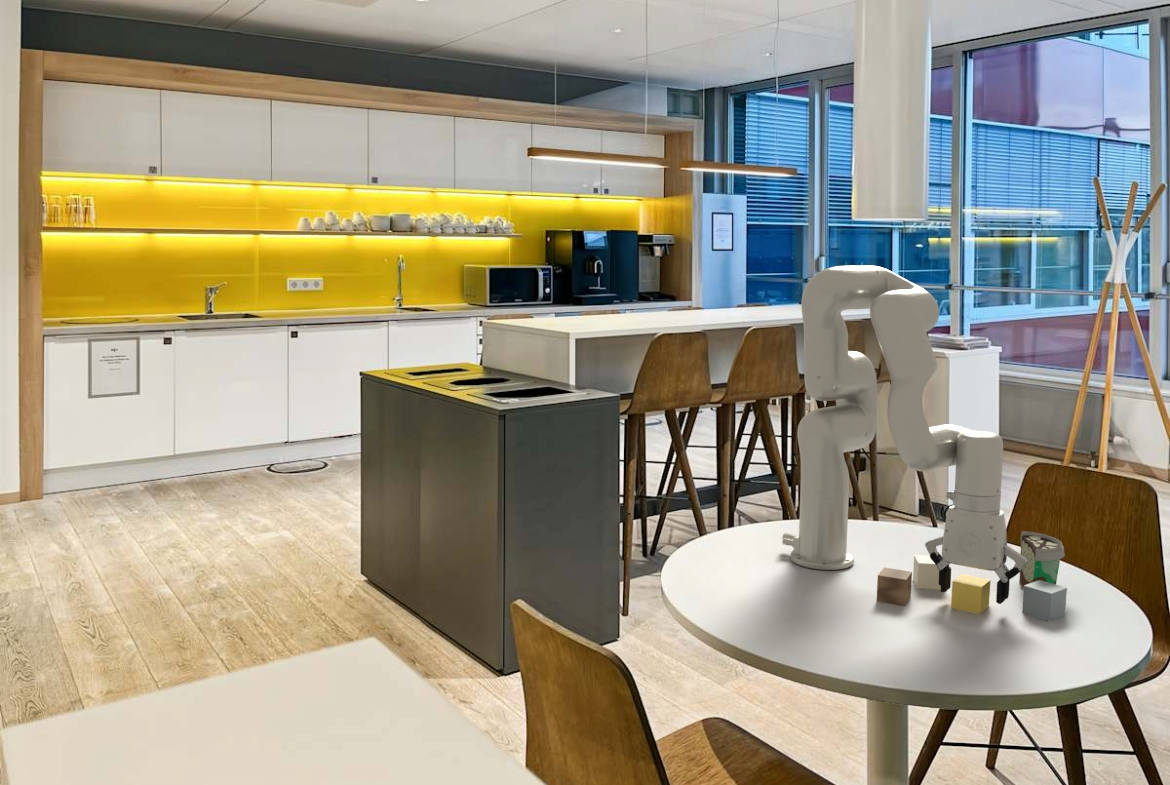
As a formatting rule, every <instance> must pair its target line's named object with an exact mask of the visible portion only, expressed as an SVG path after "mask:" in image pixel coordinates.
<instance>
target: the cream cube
mask: <svg viewBox="0 0 1170 785" xmlns="http://www.w3.org/2000/svg"><path fill="white" fill-rule="evenodd" d="M913 556H914V557H913V568H912V569H913V571H912V581H913V583H914V584H915V587H916V588H917V589H921V590H923V589H924V590H939V591H941V586H940V585H939V570H938V569H937V565H936V564H935V563H934V562H933V561H932V559H931V558H930V555H923V554H922V555H921V554H914V555H913Z"/></svg>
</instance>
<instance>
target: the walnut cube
mask: <svg viewBox="0 0 1170 785" xmlns="http://www.w3.org/2000/svg"><path fill="white" fill-rule="evenodd" d="M912 581H913V571H909V570H902V569H896V568H890V567H883V568H882V569H881V571H880V572H879V573H878V574H877V585H876V602H879V603H883V604H884V603H885V604H890V605H895V606H902V607H906V605H907V604H908V603H909V601H910V599H911V597H912Z"/></svg>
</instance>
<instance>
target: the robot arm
mask: <svg viewBox="0 0 1170 785" xmlns="http://www.w3.org/2000/svg"><path fill="white" fill-rule="evenodd" d="M800 305H801V316H802V324H803V339H804V340H803V366H804V367H803V371H804V387H805V391H806V393H807V394H808V396H809V397H810V398H812V399H813V400H815V401H819V402H827V401H829V402H830V401H835V402H836V404H835V405H833V406H827V407H821V408H817V409H813V410H811V411H808V412H807V413H806V414H805V415H804V416H802V418H801V419H800V422H799V423H798V426H797V442H798V443H797V444H798V448H799V449H798V450H799V458H800V498H799V499H800V500H799V519H798V520H799V522H798V523H799V524H798V525H799V526H798V529H799V530H798V535H795V534H792V533H788V532H784V533H783V535H782V539H781V540H782V541H781V542H782V543H781V544H782V545H785V546H790V547H792V548H793V549H792V551H791V552H790V560H791V561H792V562H793V563H795V564H797V565H798V566H801V567H804V568H809V569H813V570H814V569H815V570H821V571H823V570H824V571H826V570H827V571H834V570H837V571H838V570H843V569H847V568H849V567H852V566H853V565H854V563H855V557H854V556H853V554H851V553H850V552H848V551H847V545H848V544H847V542H848V524H849V522H848V521H849V503H850V502H849V499H850V497H849V496H850V473H849V468H848V465H847V463H846V460H845V459H846V458H845V455H844V453H847V452H852V451H857V450H861V449H863V448H865V447H867V446H869V445H870V444H871V443H872V441H873V440H874V438H875V436H876V434H877V433H876V432H877V428H878V426H877V425H878V424H877V423H878V381H877V380H878V379H877V373H876V368H875V366H874V365H873V362H872V361H871V359H869V357H868V356H867V355H865V354H864V353H862V352H859V351H854V350H849V333H848V327H847V325H846V322H845V320H844V318H843V315H842V312H843V311H846V310H864V309H865V310H867V309H869V317H870V321H871V323H872V327H873V329H874V333H875V336H876V339H877V341H878V345H879V347H880V350H881V352H882V355H883V359H884V362H885V364H886V368H887V371H888V374H889V377H890V388H889V392H888V397H887V409H886V411H887V413H886V414H887V415H886V416H887V422H888V427H889V431H890V434H891V436H892V439H893V442H894V445H895V447H896V450H897V453H898V454H899V456H900V458H901V460H902V461H903V462H904V464H905V465H906V466H908V468H910V469H912V470H914V471H917V472H928V471H932V470H936V469H941V468H948V467H953V466H955V472H954V474H955V477H954V478H955V479H954V482H955V483H954V490H952V491H949V490H948V491H947V492H946V494H945V495H946V499H948V500H951V501H952V505H951V506H949V507H948V510H947V513H946V517H945V522H944V528H943V534H942V535H943V536H939V537H937V538H934V539H931V540H928V541H926V542H925V544H924V545H925V548H926V550H927V553H928V554H929V556H930V558H931V559H932V561H933V562H934V563H935V564H936V565H937V569H938V570H939V585H940V586H941V590H940V592H941V593H945V592H947V591H948V590H949V589H951V588H952V568H951V566H950V564H952V565H956V566H961V567H965V568H966V567H967V568H972V569H977V570H983V571H990V572H994V573H995V574H996V576H997V577H998V578H999V580H998V581H997V582H996V600H995V603H997V604H998V605H1001V604H1003V603H1004V602H1005V601H1006V600H1008V599H1009V594H1010V580H1011V579H1013V578H1014V577H1016V576H1017V575H1018V574H1020V572H1021V570H1022V568H1023V567H1024V566H1025V564H1026V563H1027V558H1025V557H1024V556H1022V555H1021V553H1020V552H1019V551H1017V550H1015V549H1013V548H1012V547H1011V546H1009V545H1008V535H1007V526H1006V525H1007V524H1006V518H1005V513H1004V511H1003V510H1001V498H1002V496H1001V494H1002V492H1001V491H1002V477H1003V475H1002V474H1003V456H1004V441H1003V438H1002V436H1000V434H997V433H995V432H991V431H983V430H972V429H970V428H966V427H963V426H959V425H957V424H956V425H955V424H950V423H949V424H946V423H945V424H939V425H933V426H929V424H928V422H927V418H926V415H925V412H924V407H923V405H924V404H923V398H924V391H925V388H926V386H927V384H928V383H929V381H930V380H931V378H932V377H933V375H934V374H935V373H936V371H937V369H938V361H937V359H936V356H935V353H934V351H933V347H932V345H931V343H930V342H931V341H930V340H929V336H928V334H927V332H929V331H931V330H933V328H934V327H935V326H936V325H937V323H938V321H939V317H940V309H939V304H938V301H937V300H936V299H935V297H934V296H933V294H931V293H930V292H929V291H928V290H926V289H924V288H923V287H921V286H919V285H917V284H915V283H913V282H911V281H909V280H908V279H906V278H904V277H902V276H900V275H898V274H896V273H895V272H893V271H891V270H889V269H887V268H884V267H881V266H877V265H837V266H831V267H828V268H824V269H822V270H820V271H819V272H817V273H816V274H815V273H814V275H813V276H812V277H811V278H810V279H809V280H808V282H807V283H806V285H805V287H804V289H803V291H802V296H801V304H800ZM939 546H941V554H940V552H939V551H938V549H937V547H939ZM1007 557H1008V558H1010V559H1011V560H1012V561H1013V562H1014V563H1015V564H1014V566H1013V567H1011V569H1009V568H1008V566H1007V565H1006V562H1007Z"/></svg>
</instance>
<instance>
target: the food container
mask: <svg viewBox="0 0 1170 785" xmlns="http://www.w3.org/2000/svg"><path fill="white" fill-rule="evenodd" d="M1020 554H1021V555H1022V556H1024V557H1025V558H1027V563H1026V564H1025V566H1024V567H1023V568H1022V570H1021V572H1019V579H1018V582H1019V583H1018V584H1019V586H1020V587H1021V588H1022V589H1023V591H1024V585H1027V584H1030V583H1032V582H1035V581H1038V580H1042V581H1045V582H1049V583H1052V584H1056V585H1057V580H1058V576H1059V575H1058V574H1059V568H1060V562H1061V559H1064V558H1065V556H1066V554H1065V548H1064V545H1063V542H1062V540H1060V539H1058V538H1056V537H1055V536H1054V537H1053V536H1050V535H1047V534H1043V533H1038V532H1033V531H1021V533H1020Z"/></svg>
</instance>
